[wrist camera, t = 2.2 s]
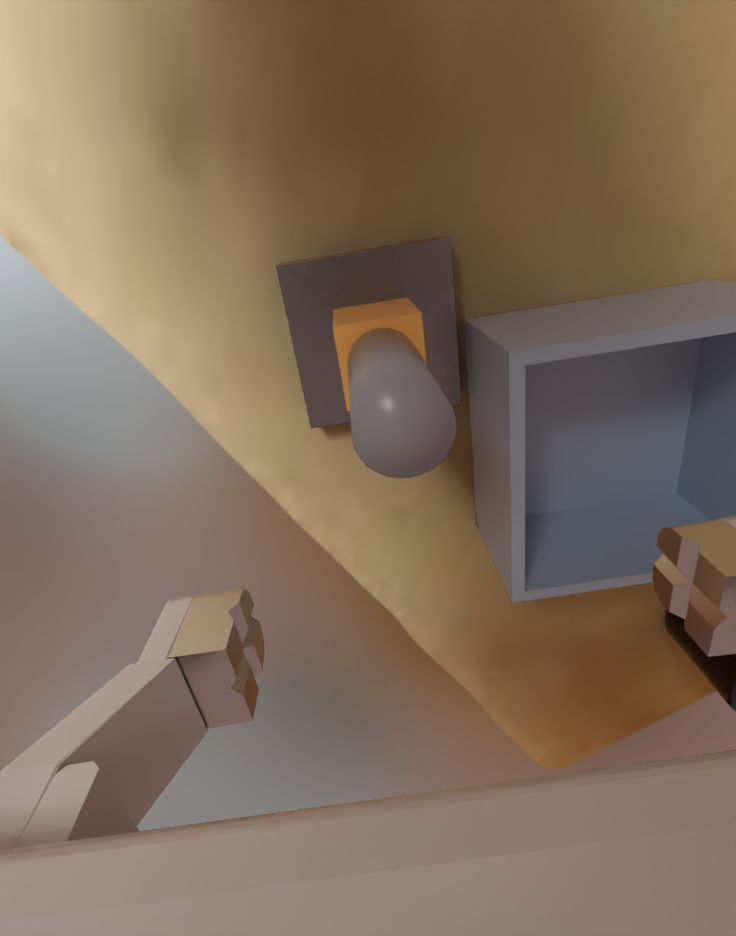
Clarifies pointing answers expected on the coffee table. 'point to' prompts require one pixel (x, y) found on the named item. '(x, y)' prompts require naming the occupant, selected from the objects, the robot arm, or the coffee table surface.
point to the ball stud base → (362, 282)
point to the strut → (392, 389)
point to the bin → (601, 433)
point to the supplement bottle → (707, 660)
